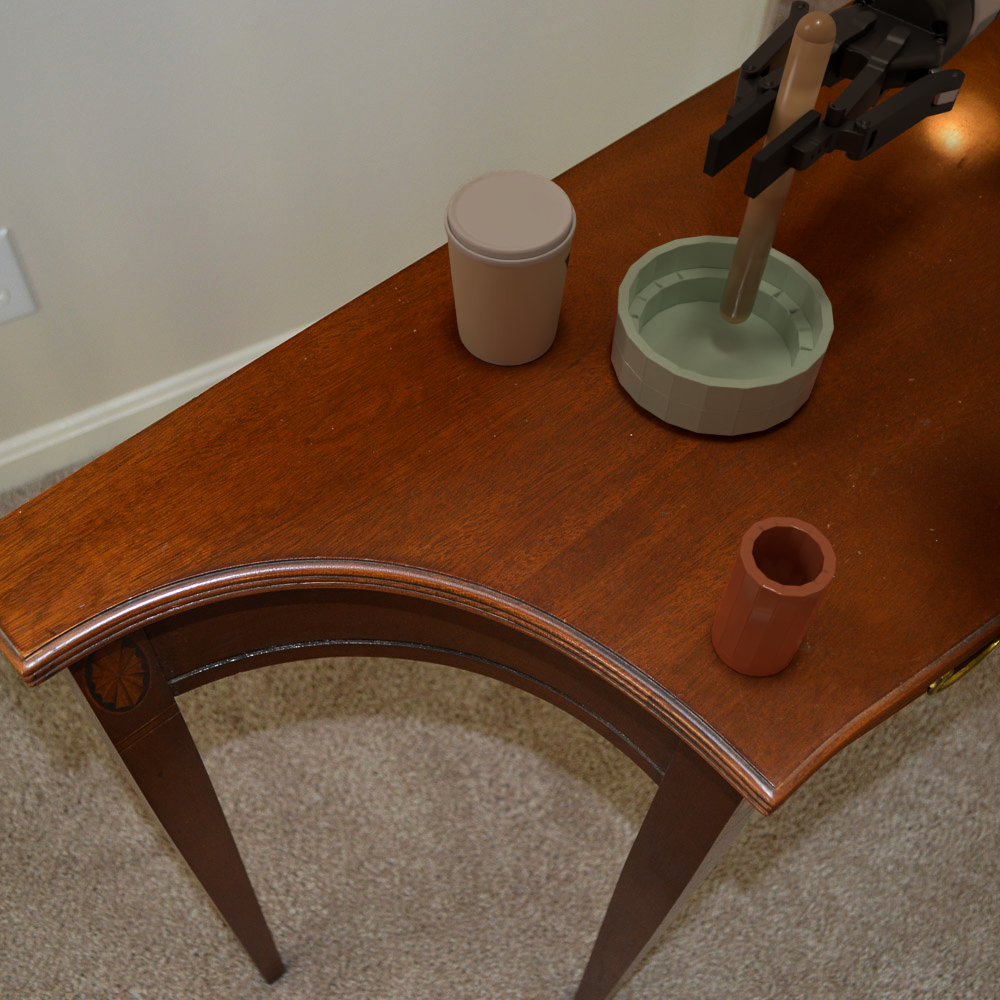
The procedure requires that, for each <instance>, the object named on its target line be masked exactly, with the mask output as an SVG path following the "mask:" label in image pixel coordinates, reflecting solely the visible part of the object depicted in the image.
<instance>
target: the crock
mask: <svg viewBox="0 0 1000 1000" xmlns="http://www.w3.org/2000/svg"><path fill="white" fill-rule="evenodd" d="M836 568H837V556H836V553H835V551H834V549H833V546H832V544H831V541H830V540H829V539H828V538H827V537H826V536H825V535H824V534H823V533H822V531H820V530H819V529H818V528H817V527H816V526H814V524H811V523H809V522H806V521H804V520H802V519H799V518H797V517H792V516H791V517H790V516H789V517H788V516H770V517H768V518H765V519H764V518H763V519H761V520H759V521H756V522H754V523H753V524H752V525H751V526H750V528H749V529H748V530H746V532H745V533H744V534H743V535H742V538H741V540H740V542H739V546H738V549H737V552H736V555H735V557H734V560H733V563H732V566H731V569H730V572H729V574H728V578H727V580H726V583H725V586H724V588H723V592H722V595H721V597H720V601H719V603H718V606H717V609H716V612H715V615H714V620H713V623H712V626H711V629H710V630H711V631H710V637H711V643H712V646H713V649H714V651H715V653H716V655H717V656H718V657H719V659H720V660H721V661H722V662H723V663H724V664H725V665H727V667H729V668H730V669H732V670H734V671H735V672H738V673H739V674H742V675H746V676H750V677H755V678H756V677H760V678H762V677H769V676H773V675H774V674H775V675H776V674H778V673H779V672H781V671H782V670H785V668H786V667H788V665H789V664H790V663H791V662H792V660H793V658H794V656H795V654H796V653H797V652H798V650H799V648H800V646H801V644H802V642H803V640H804V638H805V636H806V634H807V632H808V630H809V628H810V626H811V624H812V622H813V620H814V618H815V616H816V614H817V612H818V610H819V608H820V606H821V604H822V602H823V599H824V598H825V596H826V594H827V592H828V590H829V588H830V586H831V584H832V582H833V580H834V578H835V575H836Z"/></svg>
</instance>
